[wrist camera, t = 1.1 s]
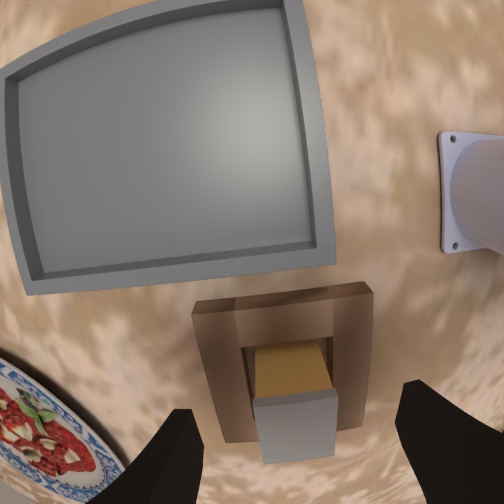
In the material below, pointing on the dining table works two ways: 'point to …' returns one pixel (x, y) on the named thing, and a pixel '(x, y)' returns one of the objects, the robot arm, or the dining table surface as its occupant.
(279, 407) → the block
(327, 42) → the dining table surface
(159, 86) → the parts tray
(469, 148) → the robot arm
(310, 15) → the dining table surface
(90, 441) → the ceramic plate
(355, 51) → the dining table surface
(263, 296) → the socket
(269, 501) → the dining table surface
